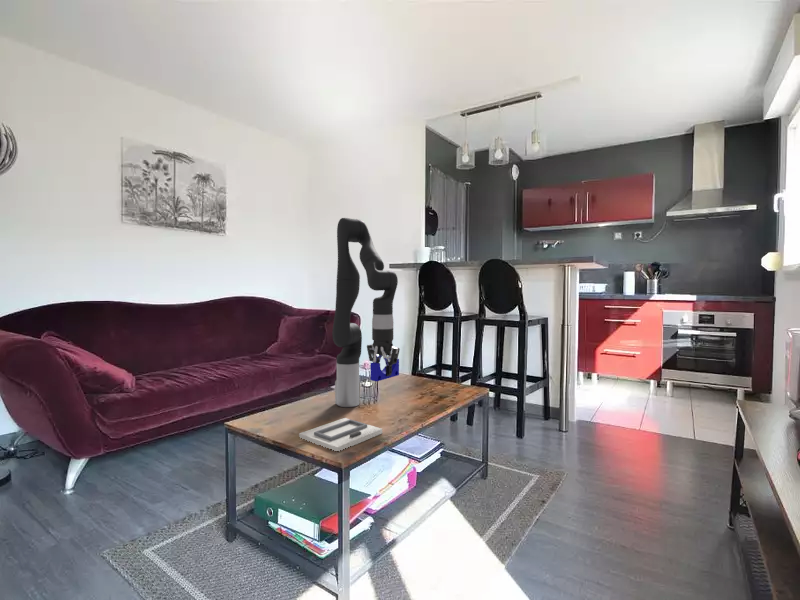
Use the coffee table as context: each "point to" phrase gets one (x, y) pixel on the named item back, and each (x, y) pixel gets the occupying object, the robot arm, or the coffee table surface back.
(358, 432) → the board
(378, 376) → the cable clip
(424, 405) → the coffee table surface
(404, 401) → the coffee table surface
